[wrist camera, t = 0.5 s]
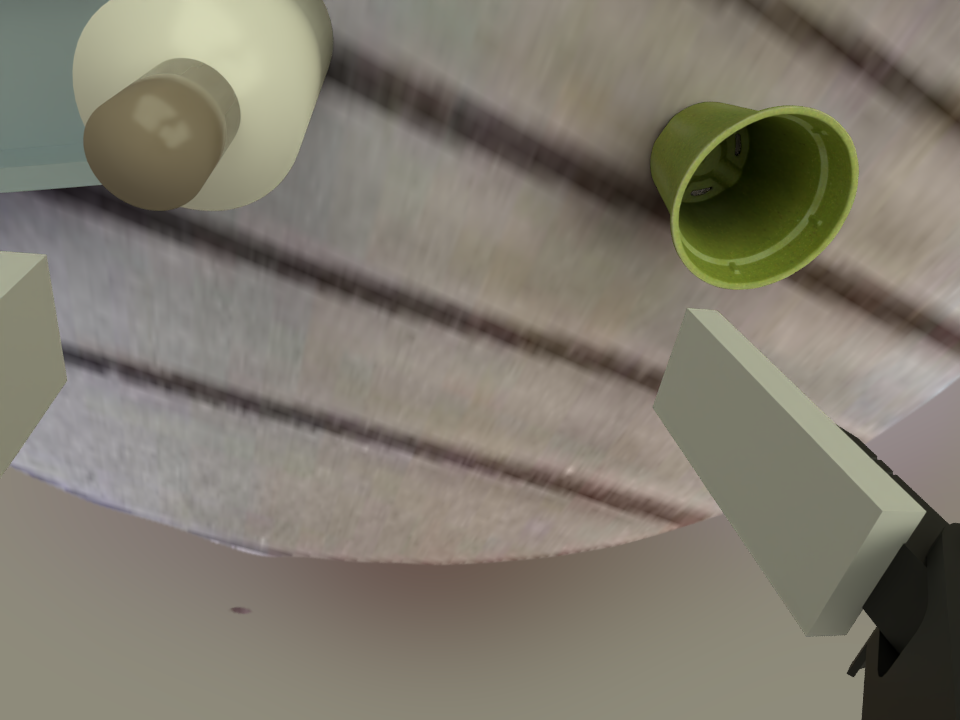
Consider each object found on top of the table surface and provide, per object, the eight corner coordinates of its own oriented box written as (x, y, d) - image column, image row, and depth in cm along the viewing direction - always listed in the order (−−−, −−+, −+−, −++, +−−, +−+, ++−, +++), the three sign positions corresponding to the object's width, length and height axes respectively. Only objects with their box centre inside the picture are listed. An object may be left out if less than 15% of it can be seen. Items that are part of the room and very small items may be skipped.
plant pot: (610, 98, 38) (662, 143, 31) (774, 46, 37) (866, 80, 30) (632, 243, 43) (681, 310, 36) (776, 200, 42) (854, 260, 35)
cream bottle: (319, -52, 32) (249, -4, 16) (343, 100, 36) (307, 264, 20) (171, -43, 32) (-62, 16, 15) (211, 110, 36) (61, 286, 19)
